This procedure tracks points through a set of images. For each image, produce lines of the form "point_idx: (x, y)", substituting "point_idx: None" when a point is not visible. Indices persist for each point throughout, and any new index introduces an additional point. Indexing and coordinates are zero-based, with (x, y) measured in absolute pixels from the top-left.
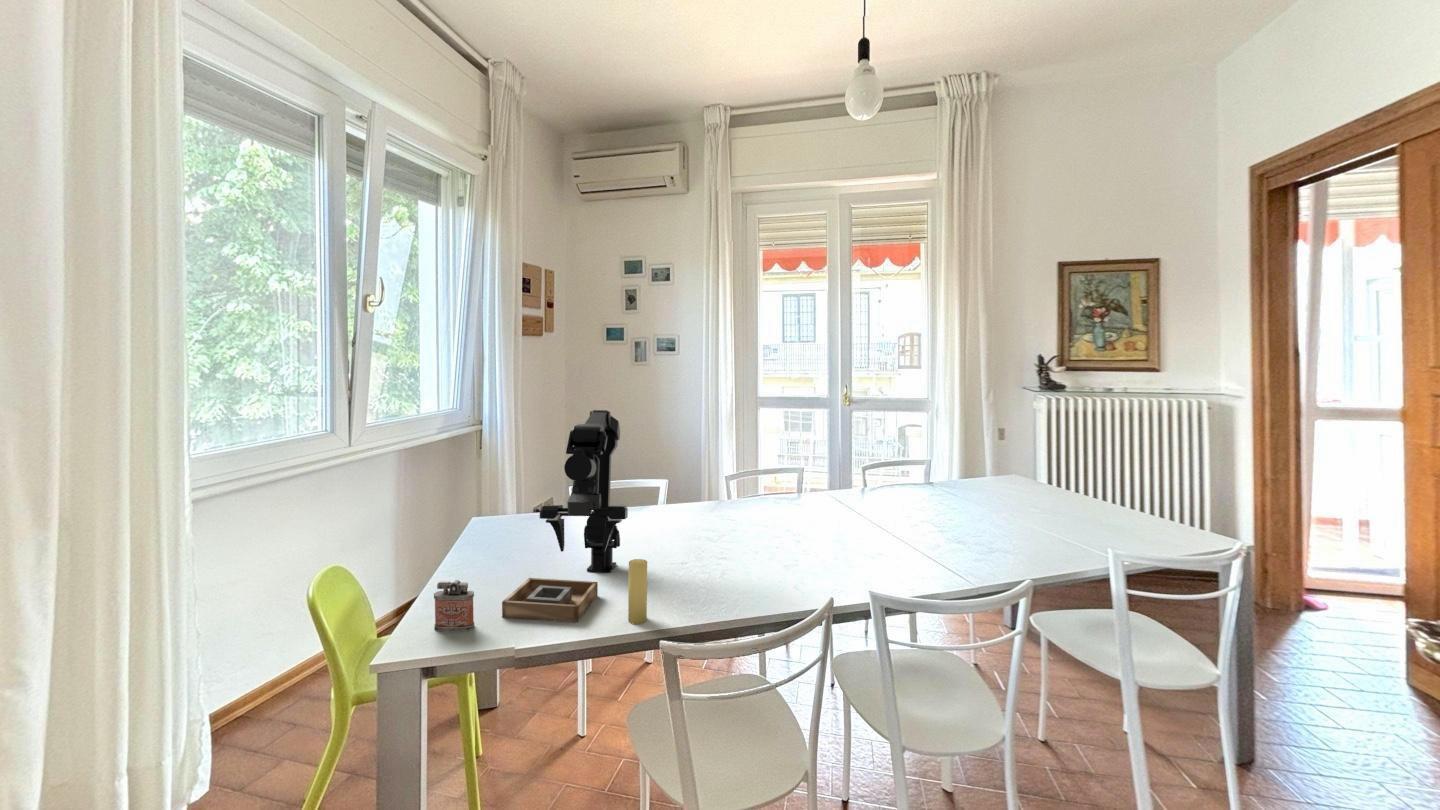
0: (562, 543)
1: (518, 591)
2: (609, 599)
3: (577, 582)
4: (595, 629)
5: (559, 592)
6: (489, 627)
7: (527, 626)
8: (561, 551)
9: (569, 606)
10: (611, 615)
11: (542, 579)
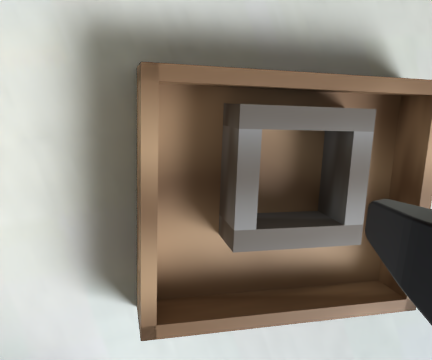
0: (425, 226)
1: (418, 191)
2: (77, 290)
3: (227, 316)
4: (37, 8)
5: (271, 223)
6: (420, 5)
7: (307, 20)
8: (377, 200)
9: (180, 65)
10: (14, 148)
11: (367, 308)
